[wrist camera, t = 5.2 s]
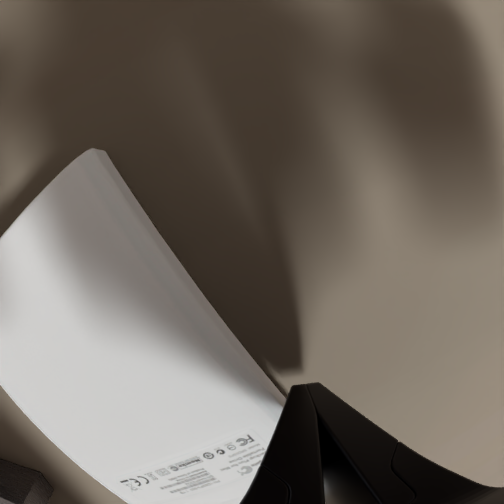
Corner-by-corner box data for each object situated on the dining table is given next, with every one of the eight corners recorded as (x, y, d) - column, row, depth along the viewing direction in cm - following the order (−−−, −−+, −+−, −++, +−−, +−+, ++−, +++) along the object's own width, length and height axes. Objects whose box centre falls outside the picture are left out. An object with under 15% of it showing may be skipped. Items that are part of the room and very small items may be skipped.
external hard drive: (113, 151, 8) (334, 447, 10) (-28, 298, 9) (171, 508, 11) (88, 145, 6) (345, 478, 9) (-54, 312, 7) (167, 534, 9)
